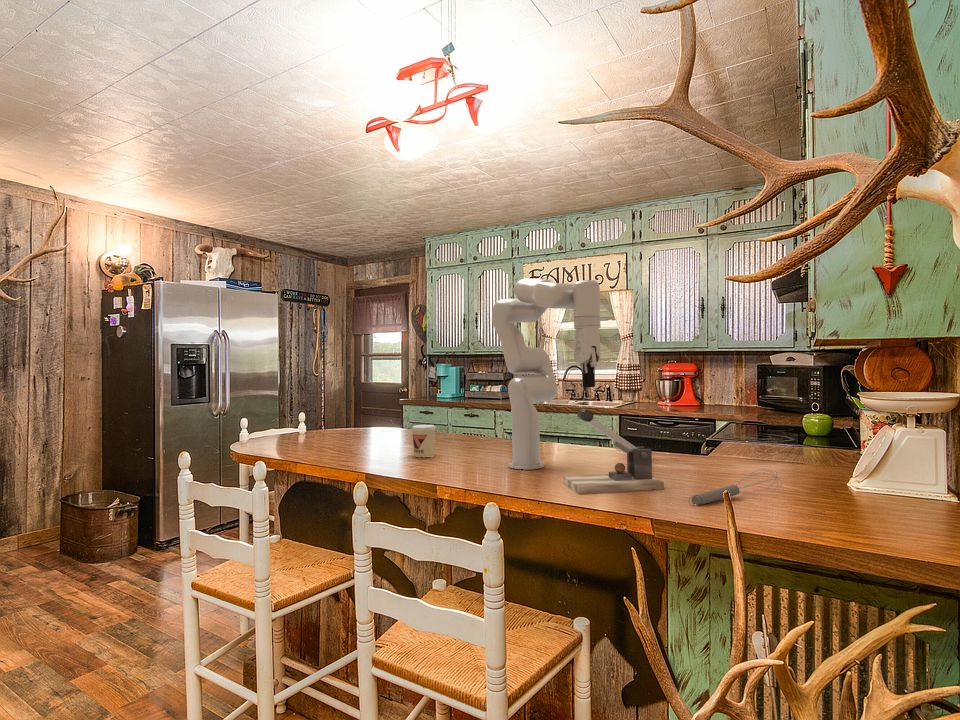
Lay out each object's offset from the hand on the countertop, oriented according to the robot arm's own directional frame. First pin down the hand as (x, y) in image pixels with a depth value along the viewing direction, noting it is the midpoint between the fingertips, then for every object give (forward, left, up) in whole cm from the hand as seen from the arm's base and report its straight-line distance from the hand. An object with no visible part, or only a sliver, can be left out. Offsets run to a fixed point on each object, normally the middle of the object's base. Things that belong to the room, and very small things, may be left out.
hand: (588, 386), depth 157 cm
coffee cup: (-64, -45, -29) cm, 84 cm away
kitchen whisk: (+20, +33, -29) cm, 48 cm away
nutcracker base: (0, +6, -29) cm, 30 cm away
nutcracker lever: (0, +5, -16) cm, 17 cm away
